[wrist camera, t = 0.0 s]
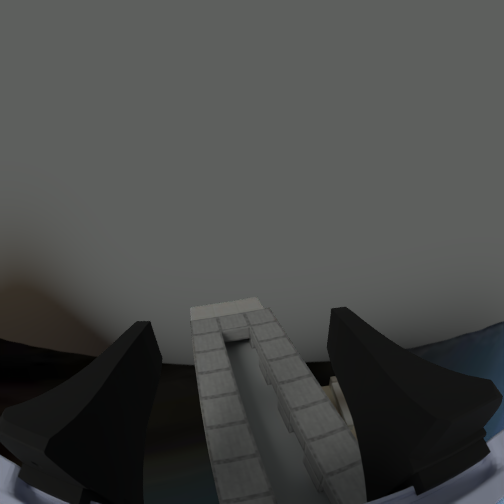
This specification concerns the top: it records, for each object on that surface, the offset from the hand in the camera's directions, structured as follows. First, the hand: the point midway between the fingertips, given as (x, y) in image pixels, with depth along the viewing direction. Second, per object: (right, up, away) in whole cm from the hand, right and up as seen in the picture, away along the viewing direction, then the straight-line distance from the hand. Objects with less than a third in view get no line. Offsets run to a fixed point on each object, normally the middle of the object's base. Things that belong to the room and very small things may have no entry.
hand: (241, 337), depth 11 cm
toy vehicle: (+1, -19, +13) cm, 23 cm away
